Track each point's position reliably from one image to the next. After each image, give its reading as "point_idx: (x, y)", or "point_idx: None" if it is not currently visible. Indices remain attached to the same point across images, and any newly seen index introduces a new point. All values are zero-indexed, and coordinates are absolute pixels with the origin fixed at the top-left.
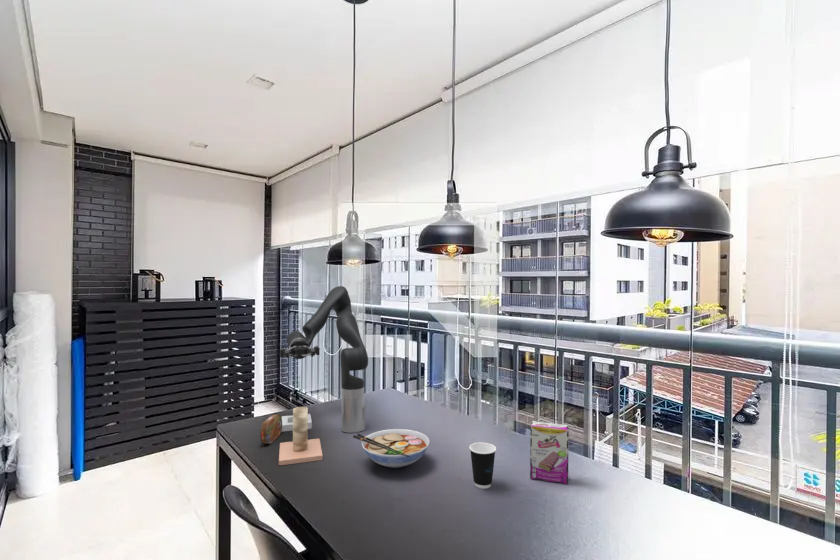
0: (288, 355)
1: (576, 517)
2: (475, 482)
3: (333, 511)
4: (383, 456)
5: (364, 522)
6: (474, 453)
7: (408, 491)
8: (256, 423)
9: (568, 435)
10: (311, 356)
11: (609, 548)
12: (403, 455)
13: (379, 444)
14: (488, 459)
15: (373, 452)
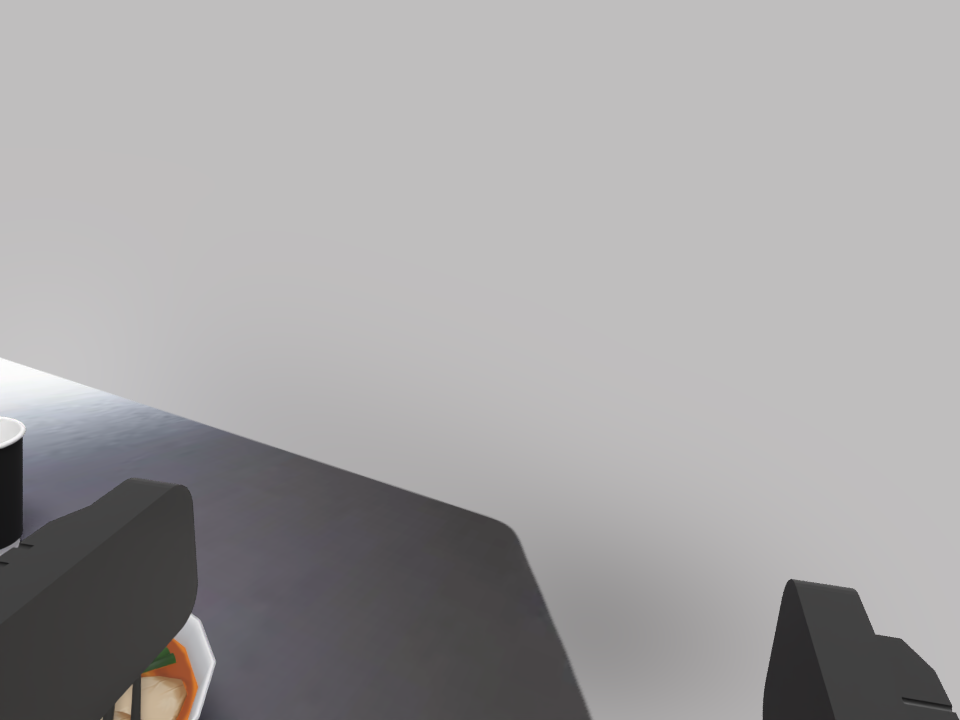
0: (783, 648)
1: None
2: (18, 537)
3: (476, 627)
4: (189, 624)
5: (417, 565)
6: (20, 440)
7: (202, 610)
8: None
9: None
10: (193, 602)
11: (99, 396)
12: None
13: None
14: (4, 440)
15: (207, 647)
